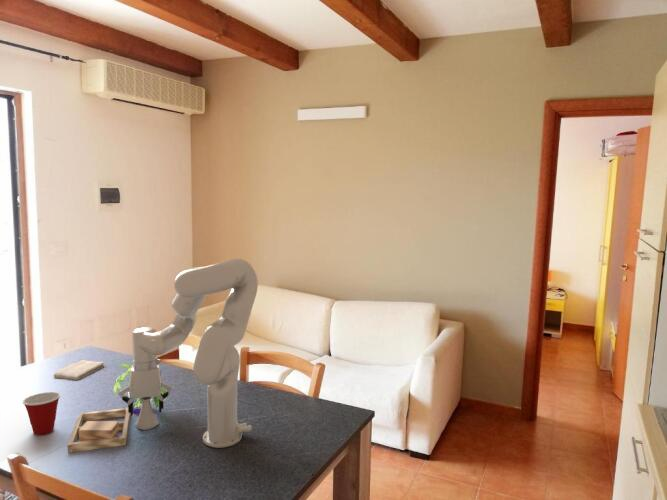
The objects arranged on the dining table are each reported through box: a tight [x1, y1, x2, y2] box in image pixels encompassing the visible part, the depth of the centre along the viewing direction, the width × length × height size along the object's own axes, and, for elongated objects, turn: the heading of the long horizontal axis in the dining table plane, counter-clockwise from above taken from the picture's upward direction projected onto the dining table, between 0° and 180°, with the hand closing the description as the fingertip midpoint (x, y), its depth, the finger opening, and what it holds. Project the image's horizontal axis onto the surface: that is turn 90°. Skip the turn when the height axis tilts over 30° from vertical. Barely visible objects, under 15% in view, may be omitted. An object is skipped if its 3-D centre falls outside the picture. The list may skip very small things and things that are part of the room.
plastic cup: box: [22, 391, 61, 436], centre depth 164 cm, size 11×11×12 cm
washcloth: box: [53, 359, 105, 381], centre depth 215 cm, size 12×18×3 cm, turn 168°
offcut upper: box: [78, 420, 120, 440], centre depth 158 cm, size 10×6×3 cm, turn 93°
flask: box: [135, 397, 159, 431], centre depth 169 cm, size 7×7×10 cm
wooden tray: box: [67, 407, 131, 453], centre depth 165 cm, size 16×22×2 cm
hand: (146, 412), depth 170 cm, fingers open, 8 cm apart
